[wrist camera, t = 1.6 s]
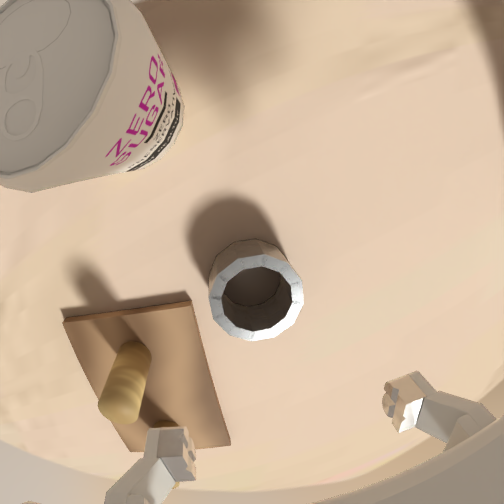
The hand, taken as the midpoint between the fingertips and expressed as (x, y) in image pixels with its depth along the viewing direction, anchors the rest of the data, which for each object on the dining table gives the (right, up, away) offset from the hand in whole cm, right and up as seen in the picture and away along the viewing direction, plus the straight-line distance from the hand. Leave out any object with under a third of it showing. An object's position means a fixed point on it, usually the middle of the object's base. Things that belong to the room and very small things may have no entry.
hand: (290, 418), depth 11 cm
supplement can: (-10, +16, +10) cm, 22 cm away
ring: (-2, +4, +14) cm, 15 cm away
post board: (-11, -7, +16) cm, 21 cm away
